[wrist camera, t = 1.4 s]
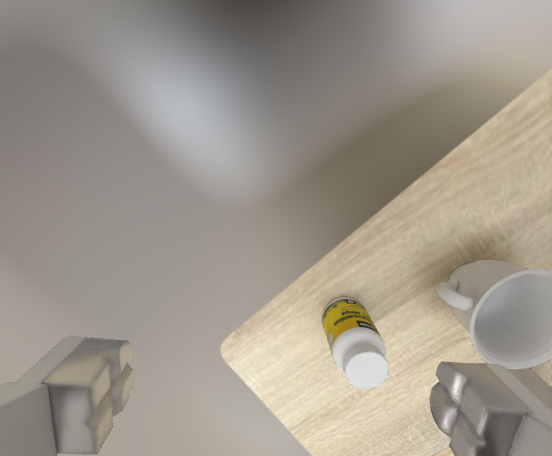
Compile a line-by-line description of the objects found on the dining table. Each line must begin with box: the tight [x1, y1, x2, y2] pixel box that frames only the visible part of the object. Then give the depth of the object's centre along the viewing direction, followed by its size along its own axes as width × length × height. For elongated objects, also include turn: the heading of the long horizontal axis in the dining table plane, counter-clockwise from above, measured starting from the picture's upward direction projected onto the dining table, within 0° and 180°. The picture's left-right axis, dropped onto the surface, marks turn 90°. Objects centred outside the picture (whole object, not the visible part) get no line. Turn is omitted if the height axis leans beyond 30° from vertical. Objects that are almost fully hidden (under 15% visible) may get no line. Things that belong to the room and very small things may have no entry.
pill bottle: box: [322, 297, 389, 389], centre depth 37 cm, size 6×6×11 cm
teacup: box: [436, 259, 552, 369], centre depth 37 cm, size 12×15×10 cm
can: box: [508, 368, 552, 411], centre depth 40 cm, size 8×8×12 cm
